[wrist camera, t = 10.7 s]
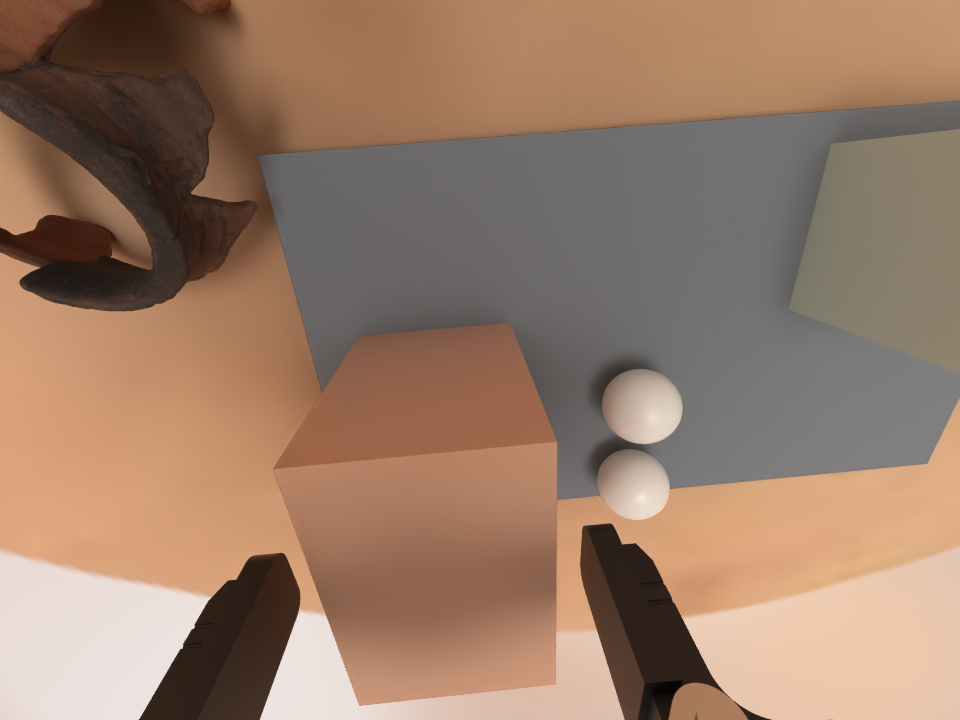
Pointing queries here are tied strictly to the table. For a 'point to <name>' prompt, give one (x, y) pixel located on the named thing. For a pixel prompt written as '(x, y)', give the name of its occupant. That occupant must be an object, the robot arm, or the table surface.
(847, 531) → the table surface
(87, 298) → the brown sculpted ring
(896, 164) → the pale green cuboid
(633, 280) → the slate mat
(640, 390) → the marble
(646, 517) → the marble
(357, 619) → the upright salmon pillar
